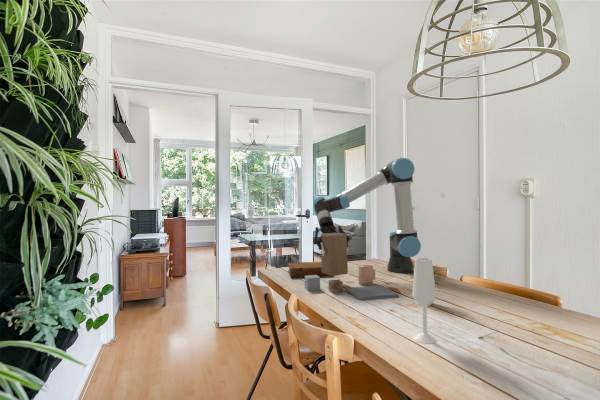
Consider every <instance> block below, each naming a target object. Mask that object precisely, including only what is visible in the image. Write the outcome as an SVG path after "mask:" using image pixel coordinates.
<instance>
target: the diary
mask: <svg viewBox="0 0 600 400" xmlns="http://www.w3.org/2000/svg"><path fill="white" fill-rule="evenodd" d="M287 266H288V270H287V273H288V275H289V277H290V279H297V278H305V276H308V275H317V276H319V277H320V278H321V277H322V278H323V277H331V276H330V275H327V274H325V273H322V264H321V261H302V262H301V261H300V262H298V261H297V262H287Z"/></svg>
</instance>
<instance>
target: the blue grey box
mask: <svg viewBox="0 0 600 400" xmlns="http://www.w3.org/2000/svg"><path fill="white" fill-rule="evenodd" d="M304 289H305V290H306V291H308V292H312V291H313V292H314V291H320V290H321V277H319V276H317V275H308V276H305V277H304Z"/></svg>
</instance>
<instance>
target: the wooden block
mask: <svg viewBox="0 0 600 400" xmlns="http://www.w3.org/2000/svg"><path fill="white" fill-rule="evenodd" d="M346 235H347V233H345V234H344V233H339V232H338V233H323V234H322V233H321V234H320V237H321V242H322V244H323V247H324V251H325V255H324V256H322V252H321V251H320V253H321V254H320V256H321V257H320V258H321V261H320V262H321V264H322V273H325V274H327V275H330V276H329V277H335V276H342V275H347V274H348V270H349V269H348V266H349V265H348V254H347V237H346Z"/></svg>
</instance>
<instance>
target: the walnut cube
mask: <svg viewBox="0 0 600 400" xmlns="http://www.w3.org/2000/svg"><path fill="white" fill-rule="evenodd" d="M343 288H344V287H343V281H342V280H340V279H329V280H328V291H329V292H330V293H331V294H342V293H343V291H344V290H343Z"/></svg>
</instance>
